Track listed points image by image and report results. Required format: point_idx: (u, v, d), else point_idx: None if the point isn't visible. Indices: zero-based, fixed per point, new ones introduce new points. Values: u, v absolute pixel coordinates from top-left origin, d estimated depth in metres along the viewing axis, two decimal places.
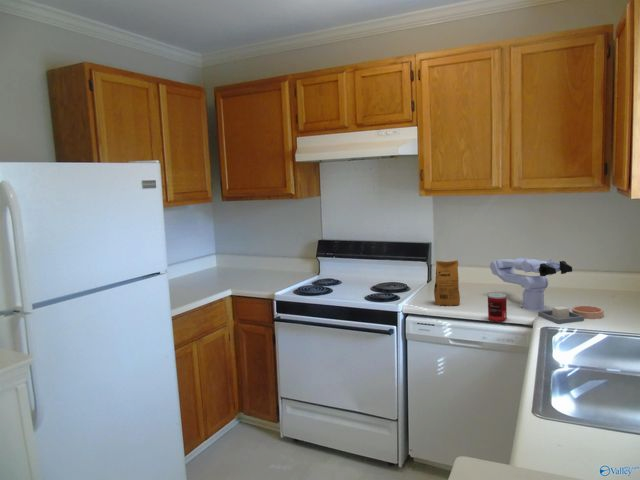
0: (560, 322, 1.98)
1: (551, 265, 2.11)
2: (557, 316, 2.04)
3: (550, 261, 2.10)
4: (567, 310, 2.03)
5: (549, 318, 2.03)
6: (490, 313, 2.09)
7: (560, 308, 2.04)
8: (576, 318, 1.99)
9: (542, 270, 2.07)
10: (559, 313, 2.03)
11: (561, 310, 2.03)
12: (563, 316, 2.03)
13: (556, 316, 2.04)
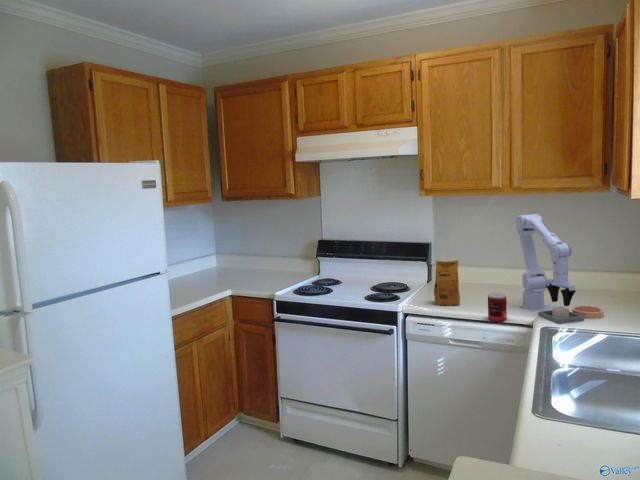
0: (560, 322, 1.98)
1: None
2: (557, 316, 2.04)
3: (554, 285, 2.03)
4: (567, 310, 2.03)
5: (549, 318, 2.03)
6: (490, 313, 2.09)
7: (560, 308, 2.04)
8: (576, 318, 1.99)
9: None
10: (559, 313, 2.03)
11: (561, 310, 2.03)
12: (563, 316, 2.03)
13: (556, 316, 2.04)
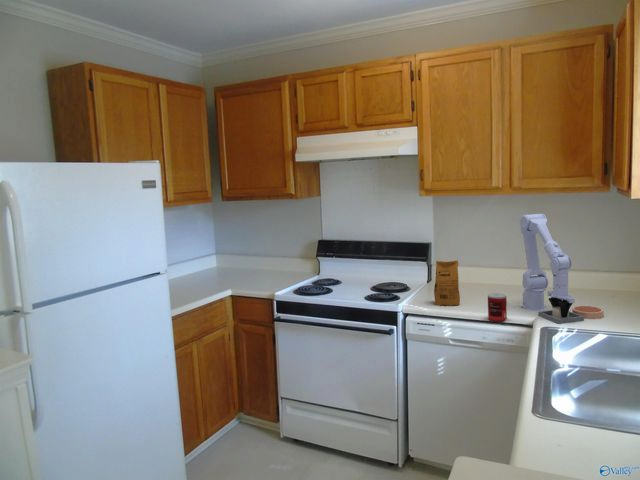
0: (560, 322, 1.98)
1: None
2: (557, 316, 2.04)
3: (554, 297, 2.04)
4: None
5: (549, 318, 2.03)
6: (490, 313, 2.09)
7: None
8: (576, 318, 1.99)
9: None
10: (559, 313, 2.03)
11: None
12: None
13: (556, 316, 2.04)
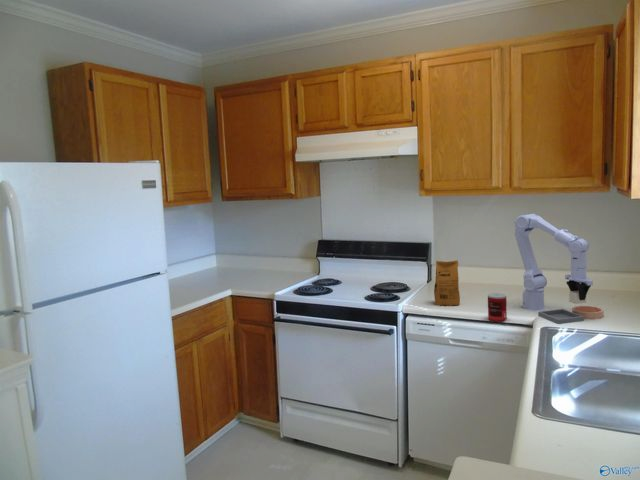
0: (560, 322, 1.98)
1: None
2: (574, 300, 2.04)
3: (572, 280, 2.04)
4: None
5: (549, 318, 2.03)
6: (490, 313, 2.09)
7: (577, 292, 2.05)
8: (576, 318, 1.99)
9: None
10: (576, 296, 2.03)
11: (578, 294, 2.03)
12: (580, 300, 2.04)
13: (573, 300, 2.05)
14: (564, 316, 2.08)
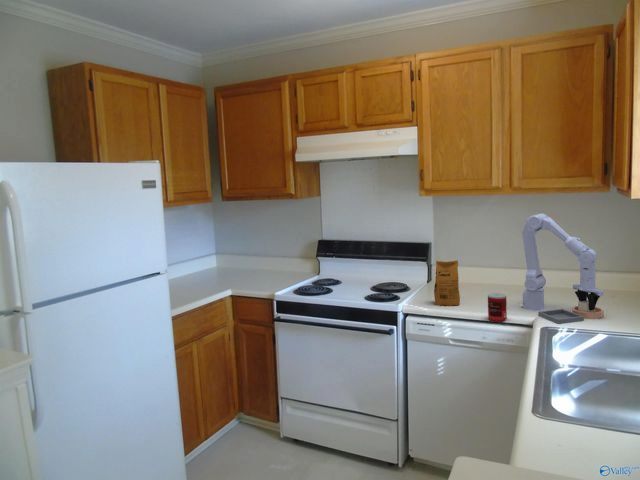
0: (560, 322, 1.98)
1: None
2: (584, 310, 2.05)
3: None
4: None
5: (549, 318, 2.03)
6: (490, 313, 2.09)
7: (586, 302, 2.06)
8: (576, 318, 1.99)
9: None
10: (586, 307, 2.05)
11: (588, 304, 2.05)
12: (590, 310, 2.05)
13: (583, 310, 2.06)
14: (564, 316, 2.08)
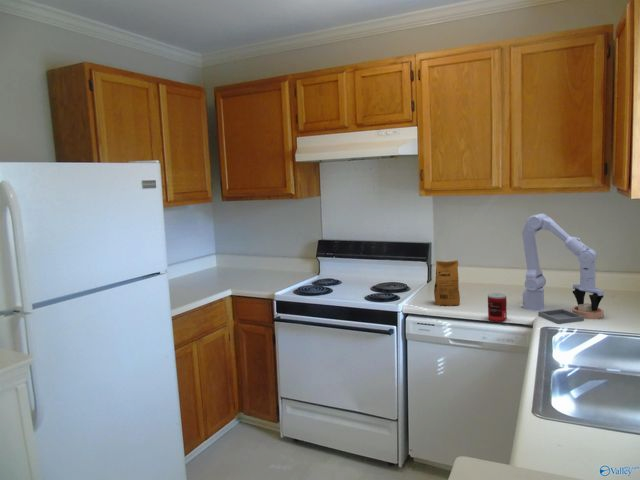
0: (560, 322, 1.98)
1: None
2: None
3: None
4: None
5: (549, 318, 2.03)
6: (490, 313, 2.09)
7: (586, 305, 2.06)
8: (576, 318, 1.99)
9: None
10: (586, 310, 2.05)
11: (588, 307, 2.05)
12: None
13: None
14: (564, 316, 2.08)
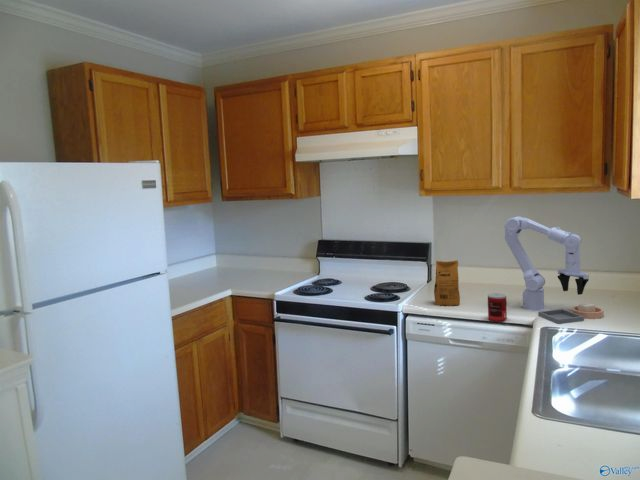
0: (560, 322, 1.98)
1: None
2: None
3: (568, 274, 2.10)
4: (593, 307, 2.06)
5: (549, 318, 2.03)
6: (490, 313, 2.09)
7: (587, 305, 2.06)
8: (576, 318, 1.99)
9: None
10: (586, 310, 2.05)
11: (588, 307, 2.05)
12: None
13: None
14: (564, 316, 2.08)
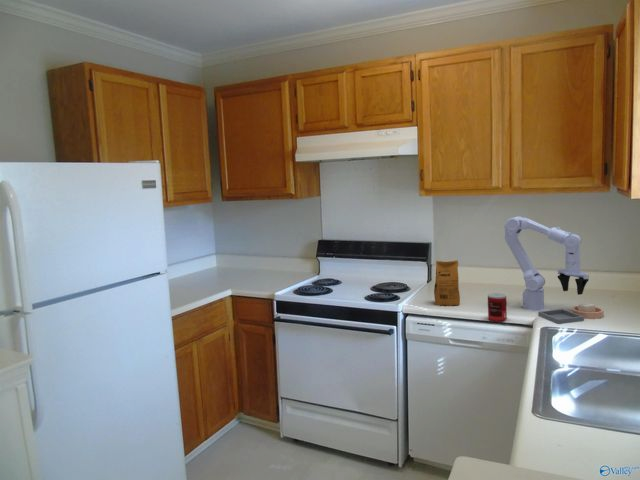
0: (560, 322, 1.98)
1: None
2: None
3: (568, 274, 2.10)
4: (593, 307, 2.06)
5: (549, 318, 2.03)
6: (490, 313, 2.09)
7: (586, 305, 2.06)
8: (576, 318, 1.99)
9: None
10: (586, 310, 2.05)
11: (588, 307, 2.05)
12: None
13: None
14: (564, 316, 2.08)
